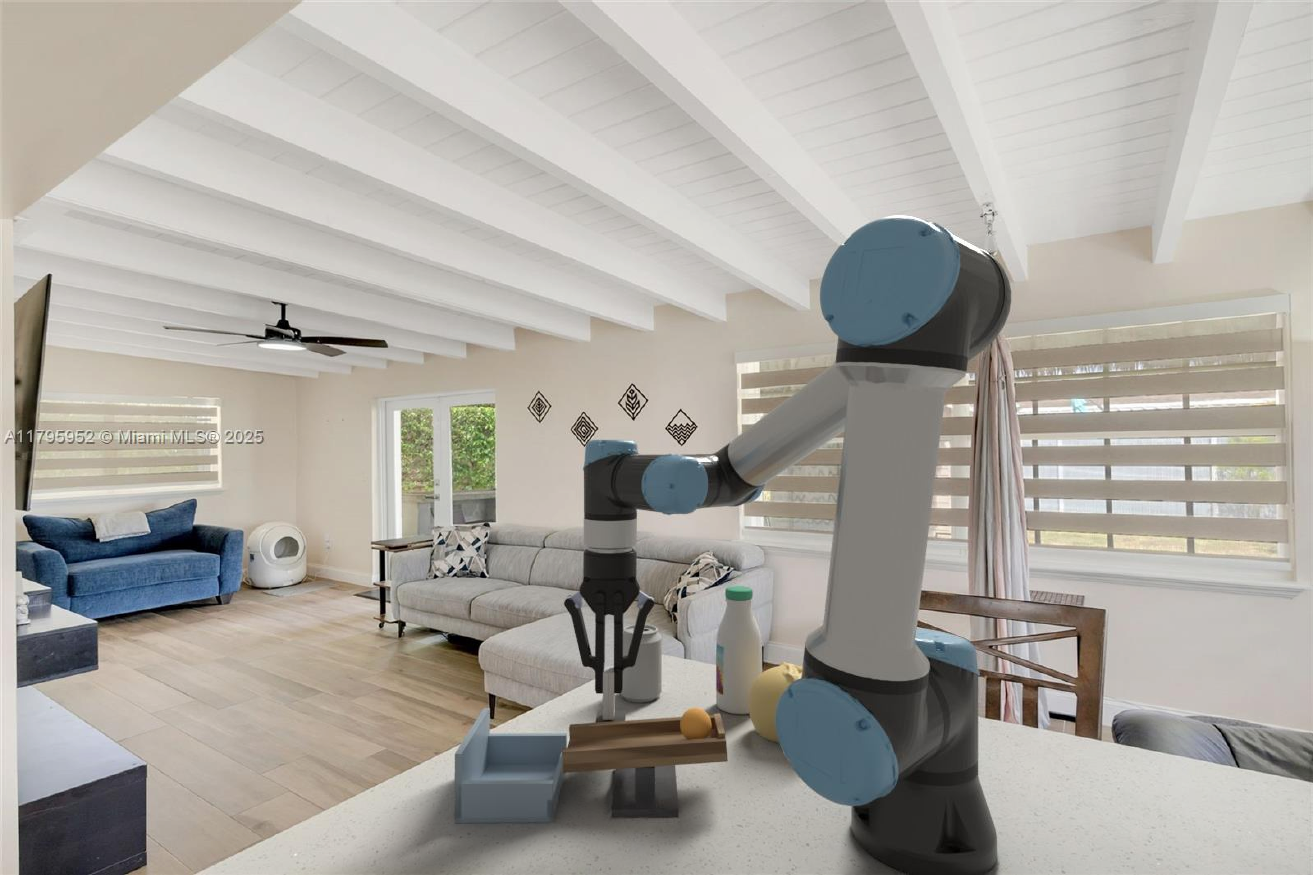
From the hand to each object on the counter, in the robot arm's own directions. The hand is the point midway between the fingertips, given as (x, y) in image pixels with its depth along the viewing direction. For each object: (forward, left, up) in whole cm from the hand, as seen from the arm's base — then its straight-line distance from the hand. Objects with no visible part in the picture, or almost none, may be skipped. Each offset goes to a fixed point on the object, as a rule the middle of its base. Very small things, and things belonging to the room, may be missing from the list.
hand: (608, 715), depth 93 cm
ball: (-15, -1, +2) cm, 15 cm away
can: (+12, -20, -6) cm, 24 cm away
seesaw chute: (-7, +1, -1) cm, 7 cm away
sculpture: (-16, -22, -6) cm, 28 cm away
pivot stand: (-10, +4, -6) cm, 12 cm away
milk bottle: (-4, -27, -6) cm, 28 cm away
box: (+3, +14, -6) cm, 16 cm away
